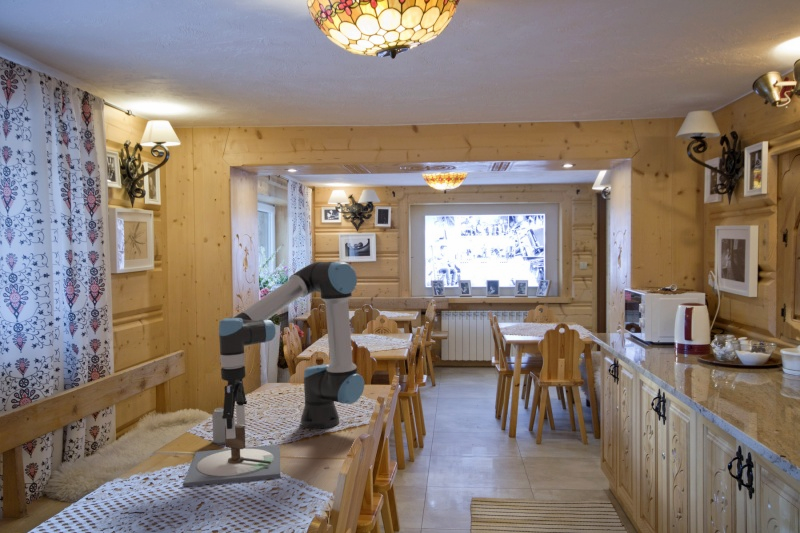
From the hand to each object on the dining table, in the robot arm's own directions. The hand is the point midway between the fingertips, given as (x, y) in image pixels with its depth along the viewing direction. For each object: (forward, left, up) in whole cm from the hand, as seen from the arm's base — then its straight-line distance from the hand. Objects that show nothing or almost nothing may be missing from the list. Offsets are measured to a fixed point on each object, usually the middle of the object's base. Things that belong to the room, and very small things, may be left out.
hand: (236, 431), depth 195 cm
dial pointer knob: (-4, +3, -10) cm, 11 cm away
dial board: (0, 0, -11) cm, 11 cm away
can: (+6, -26, -11) cm, 29 cm away
